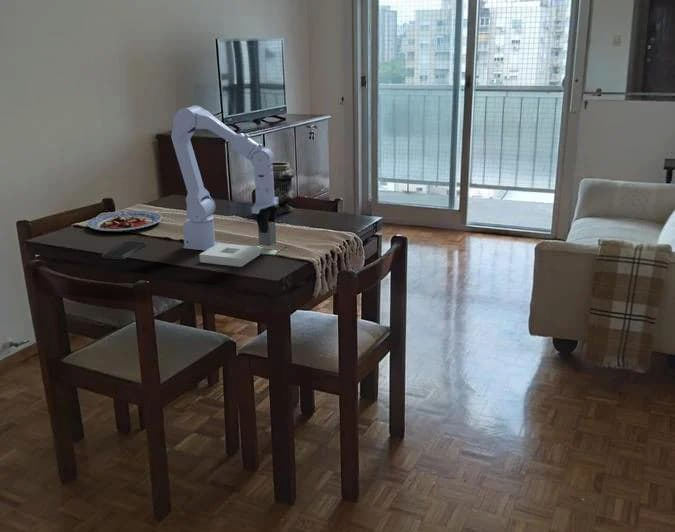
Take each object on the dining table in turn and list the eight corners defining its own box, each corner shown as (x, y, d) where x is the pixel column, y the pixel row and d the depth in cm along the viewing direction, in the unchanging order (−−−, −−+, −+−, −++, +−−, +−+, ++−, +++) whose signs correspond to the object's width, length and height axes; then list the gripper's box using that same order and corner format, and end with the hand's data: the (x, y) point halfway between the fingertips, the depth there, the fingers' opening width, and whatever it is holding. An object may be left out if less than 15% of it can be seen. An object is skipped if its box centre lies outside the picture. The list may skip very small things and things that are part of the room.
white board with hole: (200, 262, 209) (199, 254, 209) (220, 250, 220) (219, 242, 219) (241, 266, 205) (240, 258, 204) (259, 254, 215) (259, 247, 214)
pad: (248, 252, 218) (248, 251, 218) (261, 244, 226) (261, 243, 225) (274, 255, 215) (274, 253, 214) (286, 246, 222) (286, 245, 222)
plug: (259, 245, 218) (258, 223, 216) (264, 242, 222) (263, 220, 220) (270, 246, 217) (269, 224, 215) (276, 243, 220) (275, 221, 218)
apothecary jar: (299, 206, 272) (298, 160, 266) (290, 214, 260) (288, 166, 255) (270, 205, 274) (267, 160, 268) (260, 213, 263) (257, 166, 257)
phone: (147, 243, 227) (122, 257, 213) (147, 246, 227) (122, 260, 213) (125, 241, 229) (99, 255, 215) (126, 244, 229) (100, 258, 215)
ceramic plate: (135, 238, 235) (134, 230, 234) (72, 232, 243) (71, 224, 242) (176, 219, 258) (175, 211, 257) (116, 214, 266) (116, 207, 265)
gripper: (265, 193, 206) (268, 238, 210) (286, 183, 219) (288, 225, 223) (244, 192, 208) (247, 236, 213) (266, 182, 221) (268, 223, 225)
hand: (266, 230), depth 218 cm, fingers closed on plug, 4 cm apart
